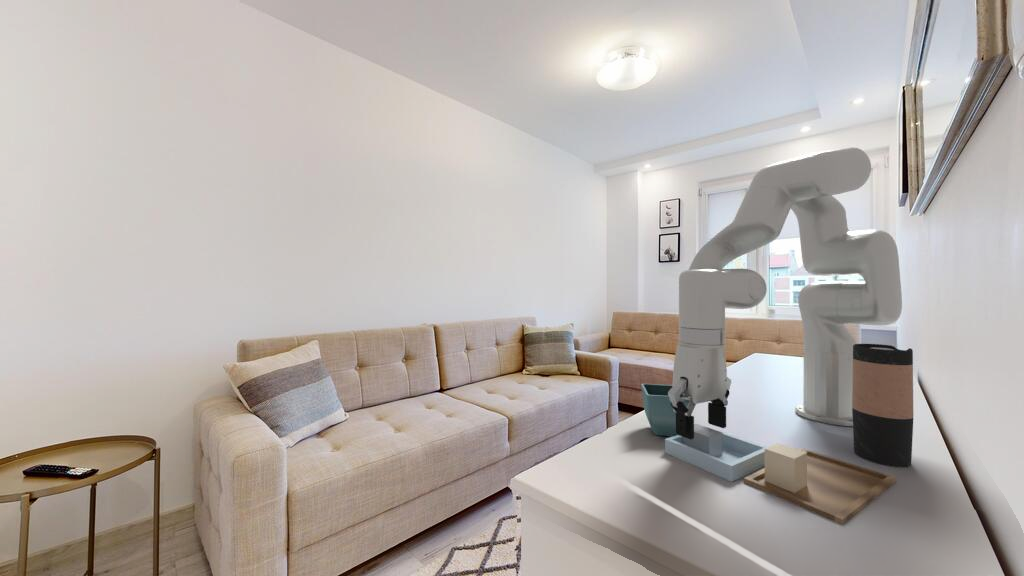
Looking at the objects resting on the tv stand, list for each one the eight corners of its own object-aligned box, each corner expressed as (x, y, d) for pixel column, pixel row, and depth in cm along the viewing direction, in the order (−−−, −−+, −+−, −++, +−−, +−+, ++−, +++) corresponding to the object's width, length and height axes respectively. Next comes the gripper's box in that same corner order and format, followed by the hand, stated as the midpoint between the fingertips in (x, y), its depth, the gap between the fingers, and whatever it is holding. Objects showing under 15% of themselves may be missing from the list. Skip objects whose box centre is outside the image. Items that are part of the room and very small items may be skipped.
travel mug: (851, 461, 66) (851, 347, 66) (852, 447, 71) (852, 342, 71) (915, 476, 61) (916, 352, 60) (911, 460, 66) (911, 346, 66)
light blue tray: (704, 441, 75) (704, 426, 75) (771, 466, 64) (771, 448, 64) (664, 455, 68) (664, 439, 68) (731, 485, 58) (731, 466, 58)
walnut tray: (803, 455, 68) (803, 448, 68) (895, 485, 58) (895, 477, 58) (743, 485, 58) (744, 478, 58) (842, 528, 48) (842, 519, 48)
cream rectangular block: (777, 474, 60) (777, 443, 60) (807, 485, 57) (807, 452, 57) (764, 480, 58) (764, 448, 58) (794, 493, 55) (794, 458, 55)
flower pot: (693, 442, 74) (693, 396, 74) (646, 439, 76) (646, 394, 76) (683, 426, 83) (682, 385, 83) (640, 423, 84) (640, 383, 84)
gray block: (696, 423, 72) (722, 432, 67) (696, 444, 72) (722, 454, 67) (683, 427, 69) (709, 437, 65) (683, 449, 70) (709, 460, 65)
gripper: (709, 332, 76) (709, 416, 76) (652, 338, 67) (652, 433, 68) (748, 336, 70) (748, 428, 70) (691, 343, 61) (691, 449, 61)
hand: (701, 431), depth 69 cm, fingers open, 9 cm apart
